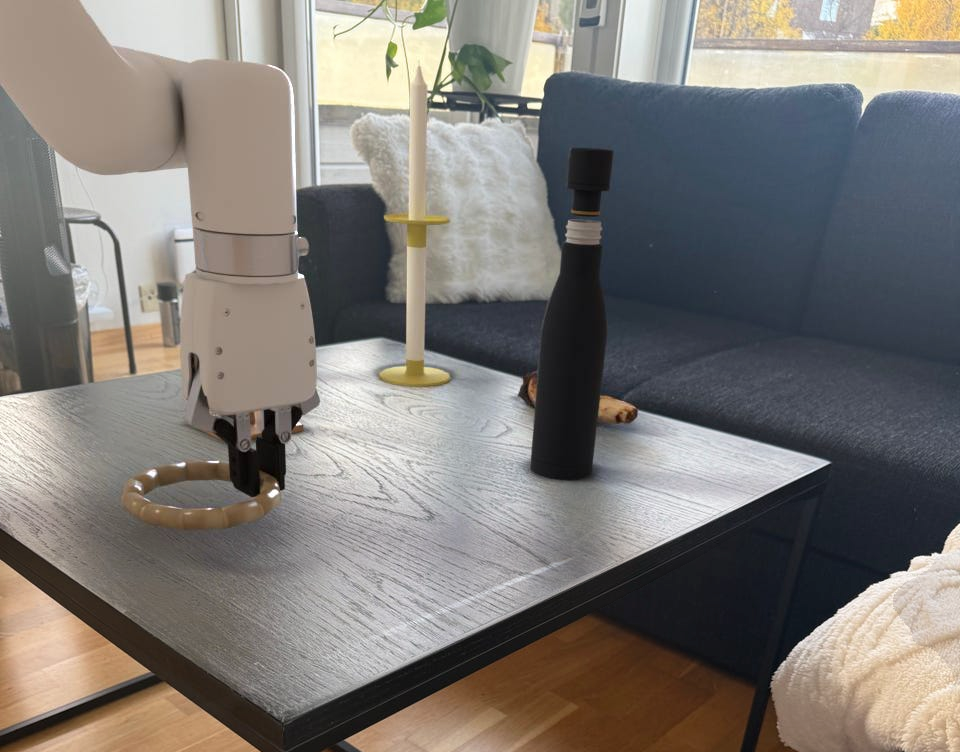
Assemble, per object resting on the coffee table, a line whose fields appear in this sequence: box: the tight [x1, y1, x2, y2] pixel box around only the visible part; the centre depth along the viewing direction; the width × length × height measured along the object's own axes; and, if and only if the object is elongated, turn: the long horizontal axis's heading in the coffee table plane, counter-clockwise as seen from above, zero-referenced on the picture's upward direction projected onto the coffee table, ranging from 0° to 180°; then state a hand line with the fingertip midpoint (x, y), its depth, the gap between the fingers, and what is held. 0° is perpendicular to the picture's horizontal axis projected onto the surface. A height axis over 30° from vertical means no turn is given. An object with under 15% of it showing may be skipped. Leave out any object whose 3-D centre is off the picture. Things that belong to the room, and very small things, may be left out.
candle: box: [378, 60, 452, 387], centre depth 119 cm, size 10×10×38 cm
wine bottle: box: [529, 147, 614, 481], centre depth 88 cm, size 6×6×30 cm
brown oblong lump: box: [517, 370, 639, 425], centre depth 112 cm, size 9×5×18 cm
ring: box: [120, 460, 282, 531], centre depth 74 cm, size 12×12×2 cm
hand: (259, 487), depth 78 cm, fingers closed on ring, 1 cm apart
